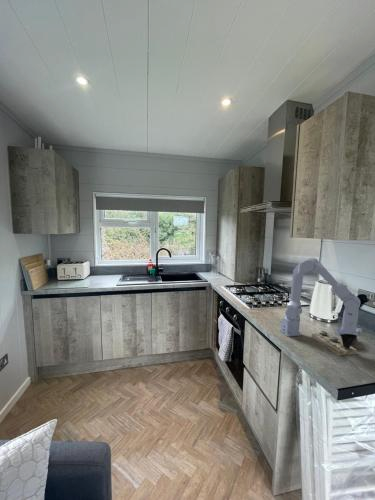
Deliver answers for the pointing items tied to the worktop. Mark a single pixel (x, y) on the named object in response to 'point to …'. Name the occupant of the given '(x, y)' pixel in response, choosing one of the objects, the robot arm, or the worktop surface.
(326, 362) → the worktop surface
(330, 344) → the button board
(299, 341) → the worktop surface
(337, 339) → the button middle
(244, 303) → the worktop surface
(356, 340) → the supplement bottle
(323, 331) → the button left
